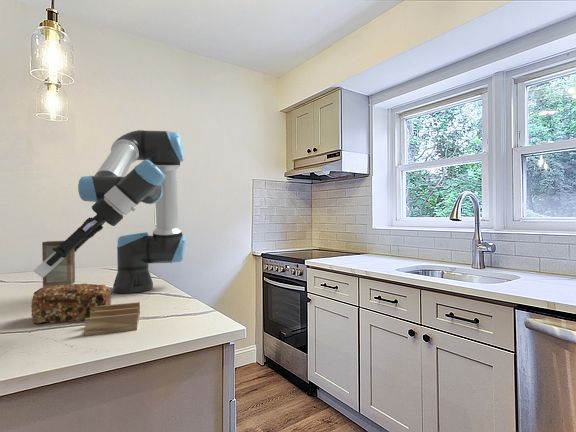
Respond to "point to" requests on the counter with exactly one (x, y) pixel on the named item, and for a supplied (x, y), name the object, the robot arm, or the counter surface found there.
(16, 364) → the counter surface
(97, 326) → the divided tray
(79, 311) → the bread
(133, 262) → the robot arm
